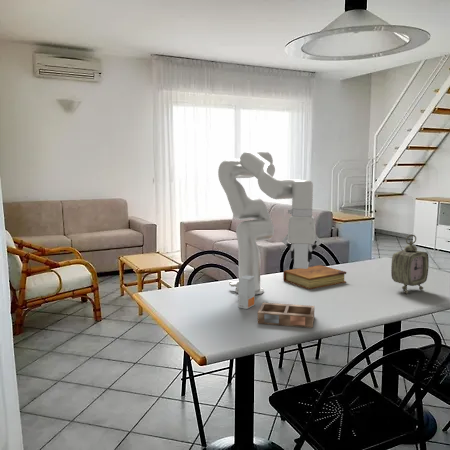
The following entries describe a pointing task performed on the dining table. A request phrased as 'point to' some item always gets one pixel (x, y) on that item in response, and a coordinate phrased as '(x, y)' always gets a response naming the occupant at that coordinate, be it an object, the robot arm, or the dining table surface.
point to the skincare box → (246, 291)
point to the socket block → (286, 315)
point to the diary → (314, 277)
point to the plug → (301, 256)
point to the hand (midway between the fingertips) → (301, 260)
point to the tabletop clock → (410, 266)
